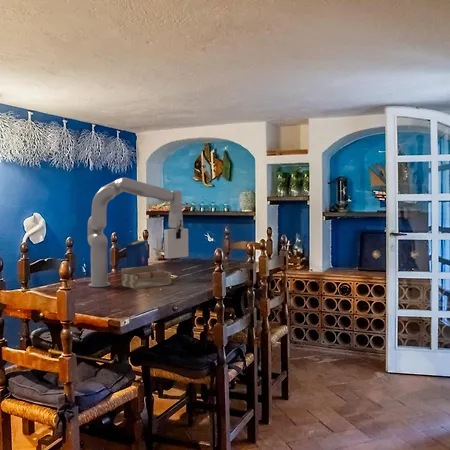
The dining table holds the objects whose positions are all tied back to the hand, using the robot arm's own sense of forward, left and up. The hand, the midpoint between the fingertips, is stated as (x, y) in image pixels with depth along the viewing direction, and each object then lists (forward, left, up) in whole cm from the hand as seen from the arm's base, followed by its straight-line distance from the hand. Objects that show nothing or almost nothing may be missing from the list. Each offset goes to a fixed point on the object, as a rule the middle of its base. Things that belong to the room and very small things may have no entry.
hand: (176, 238), depth 315 cm
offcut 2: (+8, -20, -27) cm, 34 cm away
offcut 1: (+8, -30, -27) cm, 41 cm away
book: (-15, -20, -27) cm, 36 cm away
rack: (+3, -25, -26) cm, 37 cm away
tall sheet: (0, 0, -12) cm, 12 cm away
